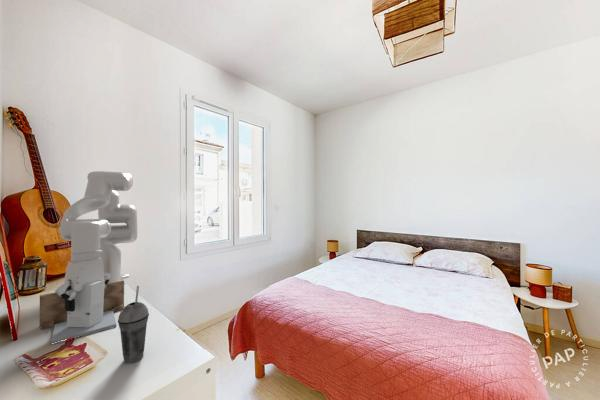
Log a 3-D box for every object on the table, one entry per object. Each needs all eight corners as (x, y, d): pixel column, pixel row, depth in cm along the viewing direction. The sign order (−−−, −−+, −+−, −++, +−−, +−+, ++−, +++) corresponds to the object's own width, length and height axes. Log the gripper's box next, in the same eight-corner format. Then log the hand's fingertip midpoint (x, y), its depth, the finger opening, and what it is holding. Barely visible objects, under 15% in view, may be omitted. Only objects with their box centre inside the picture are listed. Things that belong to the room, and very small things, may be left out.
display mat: (112, 312, 95) (112, 310, 95) (116, 326, 85) (116, 323, 85) (55, 327, 84) (55, 324, 84) (51, 344, 74) (51, 341, 74)
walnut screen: (122, 304, 103) (122, 278, 103) (124, 308, 98) (124, 282, 98) (40, 323, 87) (40, 293, 87) (38, 330, 82) (38, 298, 82)
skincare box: (66, 328, 82) (66, 284, 82) (82, 319, 88) (82, 278, 88) (90, 328, 82) (90, 284, 82) (105, 319, 88) (105, 278, 88)
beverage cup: (111, 363, 65) (111, 290, 65) (137, 348, 72) (137, 281, 72) (129, 370, 63) (129, 293, 63) (155, 353, 70) (155, 284, 70)
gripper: (102, 250, 94) (102, 294, 94) (47, 261, 77) (47, 315, 77) (118, 251, 92) (117, 296, 92) (65, 263, 75) (65, 317, 75)
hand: (85, 304), depth 84 cm, fingers open, 9 cm apart
